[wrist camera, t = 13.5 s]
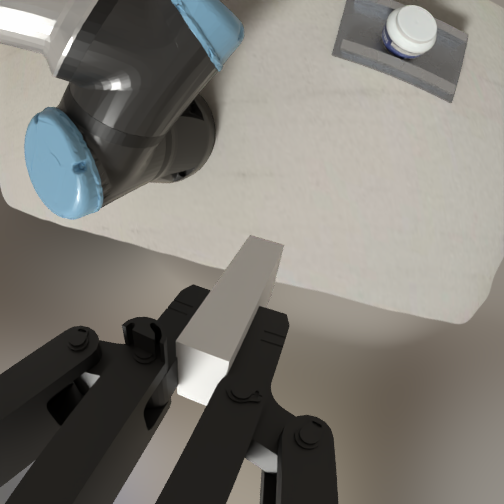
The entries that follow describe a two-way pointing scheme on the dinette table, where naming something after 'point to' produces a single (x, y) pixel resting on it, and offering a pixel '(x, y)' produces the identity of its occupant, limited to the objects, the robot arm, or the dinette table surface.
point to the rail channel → (411, 71)
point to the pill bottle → (409, 32)
